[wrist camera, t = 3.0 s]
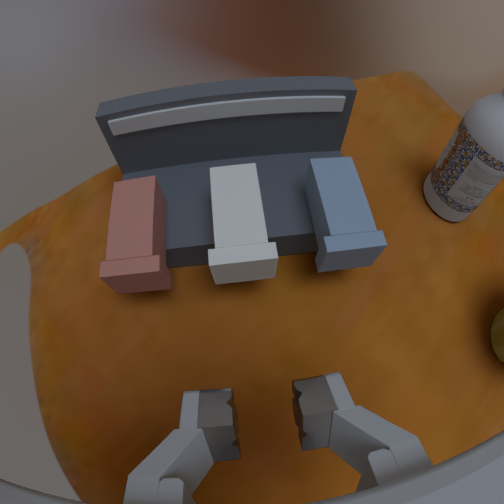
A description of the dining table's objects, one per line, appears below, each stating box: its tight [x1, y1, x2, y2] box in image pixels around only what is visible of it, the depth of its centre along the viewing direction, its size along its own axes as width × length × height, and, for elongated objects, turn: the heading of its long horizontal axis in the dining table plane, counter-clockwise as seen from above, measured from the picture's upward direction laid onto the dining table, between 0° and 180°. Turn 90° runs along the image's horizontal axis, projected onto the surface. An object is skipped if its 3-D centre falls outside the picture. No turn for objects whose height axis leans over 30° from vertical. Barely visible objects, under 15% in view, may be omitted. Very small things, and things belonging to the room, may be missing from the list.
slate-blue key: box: [304, 157, 387, 273], centre depth 25 cm, size 8×5×4 cm, turn 7°
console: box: [95, 76, 357, 268], centre depth 27 cm, size 11×22×12 cm, turn 97°
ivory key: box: [208, 163, 278, 285], centre depth 25 cm, size 8×5×4 cm, turn 7°
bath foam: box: [423, 90, 504, 222], centre depth 24 cm, size 7×7×20 cm
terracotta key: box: [99, 175, 172, 294], centre depth 25 cm, size 8×5×4 cm, turn 7°
